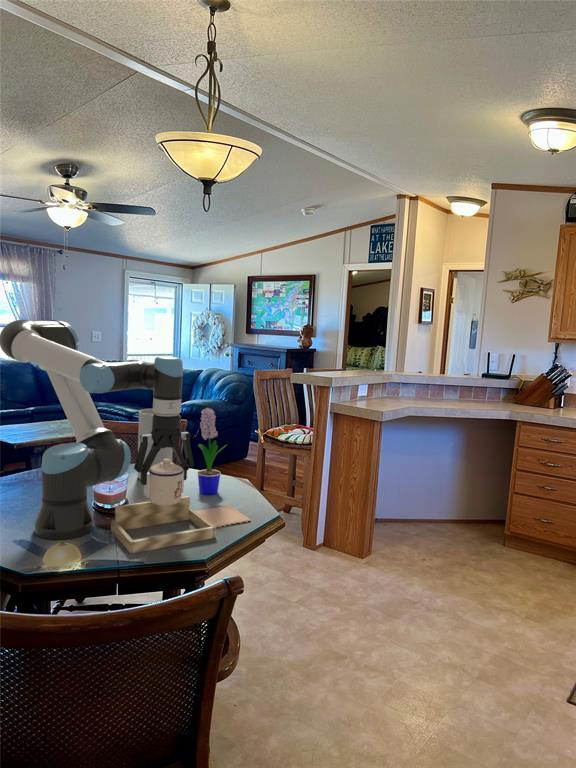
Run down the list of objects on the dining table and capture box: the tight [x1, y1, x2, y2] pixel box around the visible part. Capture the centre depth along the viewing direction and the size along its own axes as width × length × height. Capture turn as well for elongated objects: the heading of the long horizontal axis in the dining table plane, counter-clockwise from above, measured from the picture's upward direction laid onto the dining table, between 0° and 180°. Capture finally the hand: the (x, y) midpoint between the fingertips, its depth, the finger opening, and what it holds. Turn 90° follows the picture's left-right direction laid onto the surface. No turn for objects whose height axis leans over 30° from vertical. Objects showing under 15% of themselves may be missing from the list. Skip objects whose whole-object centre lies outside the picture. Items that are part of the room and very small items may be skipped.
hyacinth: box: [197, 407, 228, 496], centre depth 193 cm, size 9×10×30 cm
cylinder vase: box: [136, 408, 174, 480], centre depth 207 cm, size 12×12×25 cm
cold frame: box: [110, 495, 217, 555], centre depth 155 cm, size 24×17×7 cm
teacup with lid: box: [148, 459, 183, 505], centre depth 154 cm, size 12×9×12 cm
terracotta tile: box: [194, 505, 252, 529], centre depth 171 cm, size 14×14×1 cm
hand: (163, 493), depth 155 cm, fingers closed on teacup with lid, 9 cm apart
